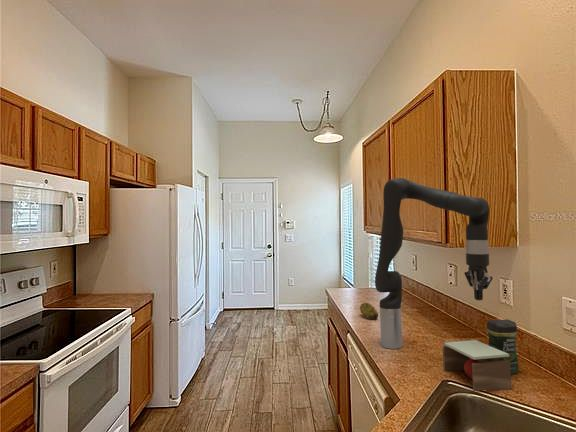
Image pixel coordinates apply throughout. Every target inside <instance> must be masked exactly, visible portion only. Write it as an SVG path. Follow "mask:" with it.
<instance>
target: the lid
mask: <svg viewBox="0 0 576 432" xmlns="http://www.w3.org/2000/svg"><path fill="white" fill-rule="evenodd" d="M442 346H448V347H450V348H452V349H454V350H456V351H458V352H460V353H462V354H464V355H466V356H468V357H470V358H472V359H474V360H475V359H486V358H498V357H509V354H508V353H505V352H503V351H500V350H498V349H496V348H493V347H491V346H489V344H486V343H483V342H480V341H478V340H476V339H465V340H454V341H452V340H451V341H443V342H442Z"/></svg>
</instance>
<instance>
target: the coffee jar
mask: <svg viewBox="0 0 576 432" xmlns="http://www.w3.org/2000/svg"><path fill="white" fill-rule="evenodd" d="M486 332H487V336H488V346H491V347H493V348H496V349H498V350H500V351H503V352H505V353H508V354H509V357H503V358H505V359H507V360H509V361H510V364H511V375H514V374H518V373H519V372H520V368H519V361H518V354H517V343H516V340H517V336H518V326H517V323H516V322H515V321H513V320H511V319H508V318H507V319H491V320H490V319H489V320H487V322H486Z"/></svg>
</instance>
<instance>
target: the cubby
mask: <svg viewBox="0 0 576 432" xmlns="http://www.w3.org/2000/svg"><path fill="white" fill-rule="evenodd" d="M468 359H471V358H470V357H468V356H466V355H464V354H462V353H460V352H458V351H456V350H454V349H452V348H450V347H448V346H446V345H442V361H443V364H442V365H443V371H444V372H453V371H462V370H464V364H465V362H466V361H467V360H468ZM476 360H478V361H479V362H480V363H472V377H473V379H472V391H473V390H474V391H478V390H486V391H485V392H493V391H501V390H502V391H503V390H504V391H505V390H511V389H512V374H511V364H510V361H509V360H507V359H505V358H503V357H498V358H486V359H476ZM464 371H465V370H464ZM474 391H473V392H474Z"/></svg>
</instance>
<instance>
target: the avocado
mask: <svg viewBox="0 0 576 432" xmlns="http://www.w3.org/2000/svg"><path fill="white" fill-rule="evenodd" d="M359 310H360V313H361V314H362V315H363V316H364V318H366V319H367V320H376V319H378V317H379V313H378V311H377V309H376V308H375V307H374V306H373V305H372V304H371V303H368V302H364V303H362V304H360V305H359Z"/></svg>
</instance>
